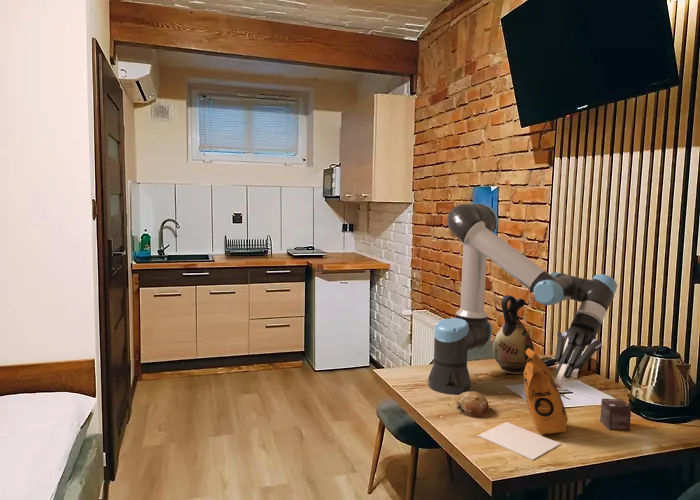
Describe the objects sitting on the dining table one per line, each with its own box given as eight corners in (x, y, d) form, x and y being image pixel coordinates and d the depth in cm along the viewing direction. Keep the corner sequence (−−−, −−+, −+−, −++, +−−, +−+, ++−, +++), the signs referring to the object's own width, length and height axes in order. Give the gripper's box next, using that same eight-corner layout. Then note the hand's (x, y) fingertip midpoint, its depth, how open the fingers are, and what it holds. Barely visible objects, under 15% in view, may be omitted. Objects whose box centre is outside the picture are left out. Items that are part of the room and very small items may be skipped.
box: (619, 421, 155) (621, 398, 154) (630, 430, 149) (632, 406, 148) (599, 421, 155) (601, 398, 154) (609, 430, 149) (610, 406, 148)
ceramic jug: (507, 361, 211) (511, 290, 208) (541, 372, 198) (545, 296, 195) (480, 369, 201) (483, 294, 198) (513, 381, 188) (517, 301, 185)
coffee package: (533, 437, 144) (512, 362, 144) (533, 419, 156) (514, 350, 156) (570, 433, 141) (548, 355, 141) (567, 415, 152) (548, 344, 152)
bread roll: (453, 418, 164) (446, 399, 161) (472, 398, 169) (466, 379, 166) (477, 429, 156) (471, 409, 153) (497, 408, 161) (491, 388, 159)
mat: (477, 436, 144) (477, 435, 144) (506, 422, 153) (506, 421, 153) (532, 460, 131) (532, 459, 131) (560, 444, 140) (560, 443, 140)
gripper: (613, 331, 152) (584, 399, 143) (571, 322, 162) (540, 385, 153) (606, 316, 148) (576, 385, 139) (563, 308, 158) (532, 372, 149)
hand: (557, 385), depth 146 cm, fingers closed
